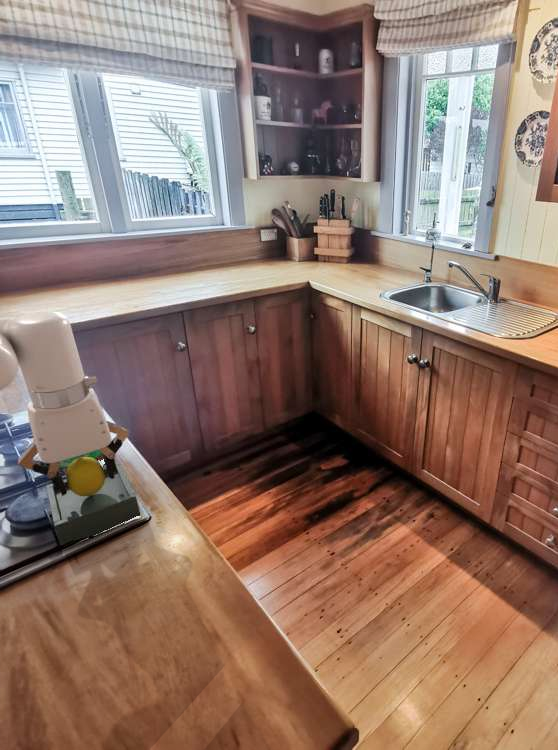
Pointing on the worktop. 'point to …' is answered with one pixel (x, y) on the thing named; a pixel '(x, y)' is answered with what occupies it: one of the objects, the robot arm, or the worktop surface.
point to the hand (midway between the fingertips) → (87, 481)
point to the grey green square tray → (93, 507)
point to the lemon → (85, 476)
